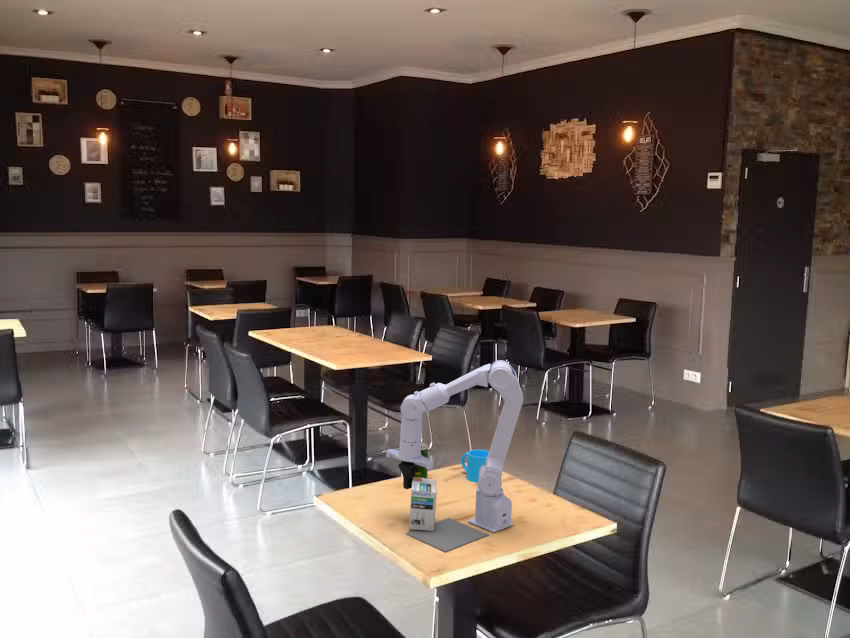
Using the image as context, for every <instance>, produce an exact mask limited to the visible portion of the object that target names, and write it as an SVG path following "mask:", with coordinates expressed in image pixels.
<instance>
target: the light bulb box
mask: <svg viewBox="0 0 850 638" xmlns="http://www.w3.org/2000/svg"><path fill="white" fill-rule="evenodd" d="M410 489H411V490H410V509H409V524H408V525H409V526H408V528H409V530H427V531H434V523H436V522H435V520H436V510H437V497H438V496H437V495H438V494H437V493H438V491H437V479H434V478H427V479H425V478H416V477H413V479H412V488H410Z"/></svg>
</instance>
